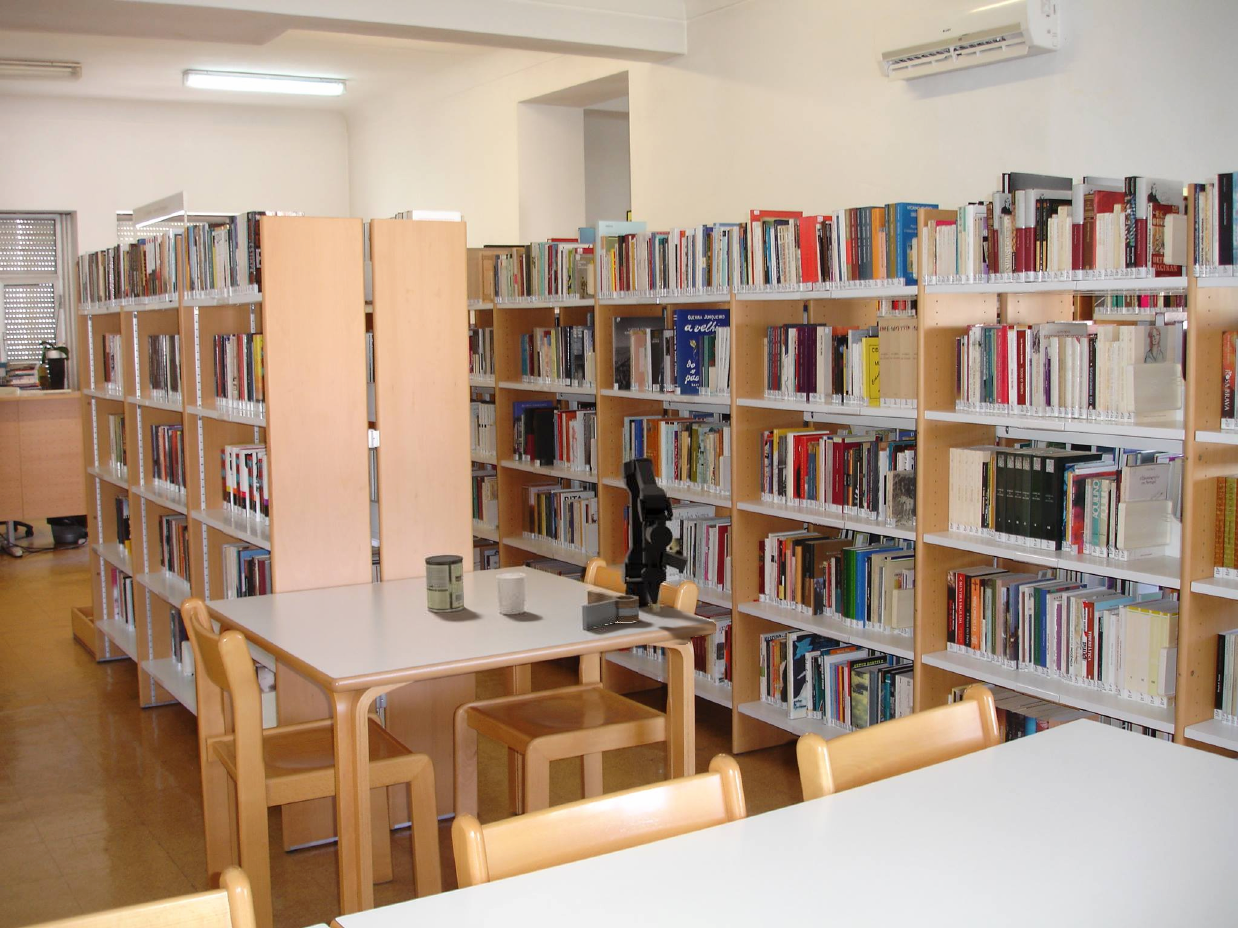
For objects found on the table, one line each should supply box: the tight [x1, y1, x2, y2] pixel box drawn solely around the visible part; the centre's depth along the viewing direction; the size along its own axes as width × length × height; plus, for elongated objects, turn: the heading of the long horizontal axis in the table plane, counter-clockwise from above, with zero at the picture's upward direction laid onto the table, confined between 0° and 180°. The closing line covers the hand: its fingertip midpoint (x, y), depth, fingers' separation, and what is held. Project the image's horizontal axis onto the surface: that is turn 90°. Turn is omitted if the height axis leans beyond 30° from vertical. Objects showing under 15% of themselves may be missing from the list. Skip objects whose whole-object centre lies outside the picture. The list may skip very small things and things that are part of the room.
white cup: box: [496, 572, 527, 615], centre depth 319 cm, size 8×8×10 cm
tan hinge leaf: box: [586, 589, 640, 622], centre depth 310 cm, size 18×7×6 cm, turn 42°
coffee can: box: [424, 554, 465, 613], centre depth 325 cm, size 10×10×14 cm
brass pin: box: [648, 584, 662, 613], centre depth 301 cm, size 3×3×8 cm
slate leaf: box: [581, 600, 640, 630], centre depth 303 cm, size 18×7×6 cm, turn 132°
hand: (654, 602), depth 301 cm, fingers closed on brass pin, 3 cm apart
